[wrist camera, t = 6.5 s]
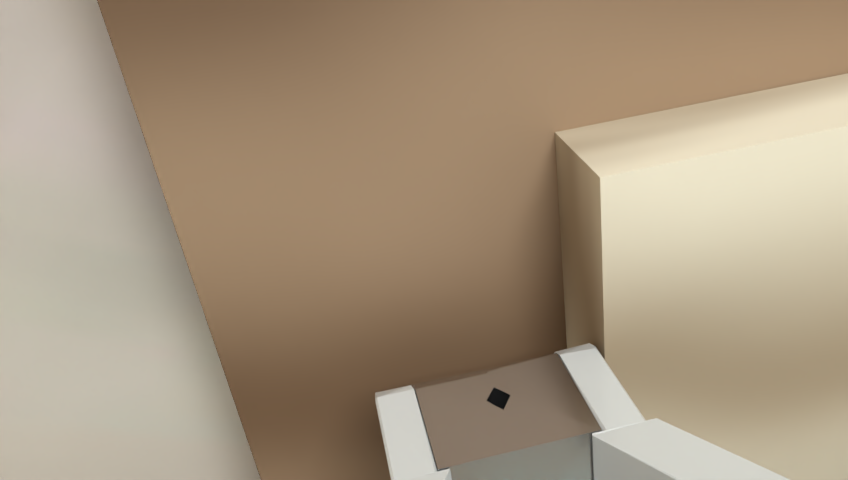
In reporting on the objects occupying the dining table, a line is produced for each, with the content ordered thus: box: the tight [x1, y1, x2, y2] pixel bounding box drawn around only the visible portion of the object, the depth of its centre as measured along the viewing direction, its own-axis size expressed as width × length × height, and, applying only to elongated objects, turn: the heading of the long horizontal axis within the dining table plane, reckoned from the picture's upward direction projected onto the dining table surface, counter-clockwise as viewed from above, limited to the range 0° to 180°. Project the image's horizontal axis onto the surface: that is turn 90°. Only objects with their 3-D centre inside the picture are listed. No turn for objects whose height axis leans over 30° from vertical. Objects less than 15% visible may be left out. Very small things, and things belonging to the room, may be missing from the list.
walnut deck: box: [97, 0, 848, 480], centre depth 12 cm, size 20×12×2 cm, turn 8°
